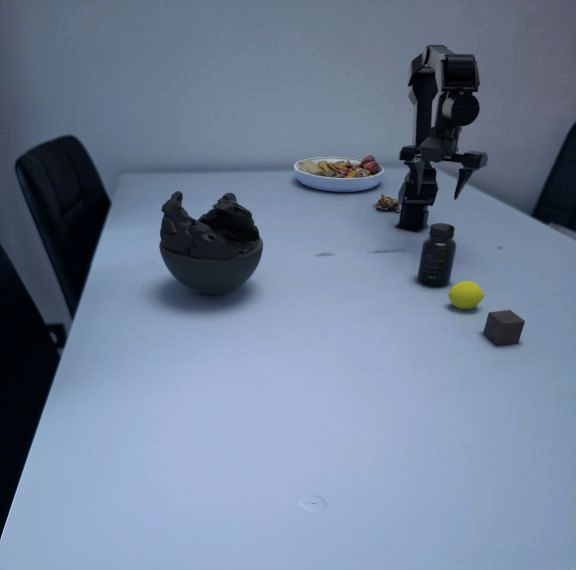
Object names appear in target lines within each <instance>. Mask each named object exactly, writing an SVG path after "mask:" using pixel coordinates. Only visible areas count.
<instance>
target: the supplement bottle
mask: <svg viewBox="0 0 576 570" xmlns="http://www.w3.org/2000/svg"><path fill="white" fill-rule="evenodd" d="M455 230H456V229H455V226H454V225H452V224H449V223H444V222H436V223H433V224H430V228H429V231H428V235H429V236H428V237H426V238H425V239H424V240H423V241H422V245H421V251H420V252H421V253H420V259H419V265H418V271H417V280H418V282H419V283H420V284H421V285H423V286H426V287H431V288H443V287H446V286H448V284H449V283H450V282H451V281H450V280H451V276H452V271H453V266H454V262H455V258H456V257H455V256H456V255H455V254H456V251H457V243H456V241H455V240H454V239H453V238H454V237H455Z"/></svg>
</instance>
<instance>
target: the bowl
mask: <svg viewBox="0 0 576 570" xmlns="http://www.w3.org/2000/svg"><path fill="white" fill-rule="evenodd" d="M293 172H294V176H295V178H296V180H297V181H298V182H300V183H301V184H302V185H304V186H306V187H308V188H312V189H314V190H319V191H325V192H332V193H333V192H335V193H353V192H361V191H367V190H370V189H373V188H375V187H376V186H377V185H379V184H380V183H381V182H382V180H383V178H384V176H385V168H384V167H383V166H382V165H380V164H379V163H378V162H377V161H376V158H375V156H374V155H372V154H368V155H366V156H364V158H363V159H360V158H354V157H342V156H320V157H311V158H310V157H309V158H305V159H301V160H298V161H297V162H295V163H294V165H293Z"/></svg>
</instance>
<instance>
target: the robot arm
mask: <svg viewBox="0 0 576 570" xmlns="http://www.w3.org/2000/svg"><path fill="white" fill-rule="evenodd" d="M480 85H481V79H480V73H479V67H478V61H477V60H476V56H475V55H474V53H455V52H453V51H452V50H450V49H449V48H448V47H447V45H444V44H427V45H425V46H424V47H423V49H422V52H420V53H419V54H418V55H417V56H416V57H414V59H412V60H411V61H410V64H409V67H408V69H407V71H406V76H405V86H406V87H407V97H408V99H409V101H410V103H411V104H412V106H413V113H412V114H413V115H412V116H413V117H412V141H411V144H409V145H404V146H402V147H401V148H400V150H399V151H398V161H403V165H404V166H407V168H408V170H407V172H406V174H405V176H404V181H403V182H402V184H401V185H400V188H399V190H398V194H397V200H398V202H399V205H400V206H401V207H400V212H399V220H398V223H397V224H395V227H397V228H400V229H404V230H408V231H412V232H420V231H421V230H423V229H425V228H426V227H428V220H429V214H430V210H428V209H429V207H433V206H434V204H435V201H436V198H437V195H438V192H439V186H438V184H439V183H438V182H437V173H438V171H437V169H436V167H433V166H432V164H431V162H432V163H434V164H439V163H441V162H448V163H459V164H461V165H462V167H460V168H458V177H457V182H456V186H455V189H454V195H453V200H454V201H456V200H458V198H459V196H460V195H461V193H462V191H463V189H464V188H465V186H466V184H467V182H468V181H469V179H470V178H471V177H472V175H473V174H474V173H475V172H477V171H480V169H482V168H485V167H487V165H488V160H489V155H488V153H487V152H486V151H476V150H468V151H465V152H464V153H459V149H460V147H459V140H460V133H462V130H463V127H467V126H469V125H471V124H472V123H474V122H475V121H476V120H477V118H478V116H479V114H480V110H481V107H480V102H479V99H478V98H477V97H476V96H475V95H474V94H473V93H478V92H479V86H480ZM436 96H437V101H436V106H435V107H436V108H435V113H434V114H435V115H434V121H433V120H432V119H433V102H434V100H435V98H436ZM432 121H433V126H432Z"/></svg>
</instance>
